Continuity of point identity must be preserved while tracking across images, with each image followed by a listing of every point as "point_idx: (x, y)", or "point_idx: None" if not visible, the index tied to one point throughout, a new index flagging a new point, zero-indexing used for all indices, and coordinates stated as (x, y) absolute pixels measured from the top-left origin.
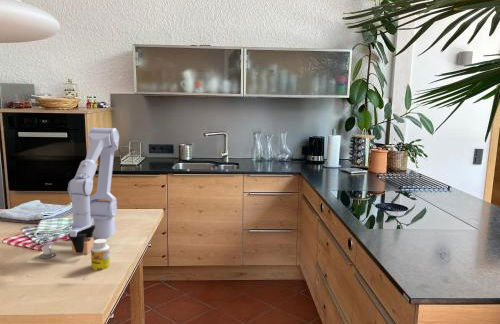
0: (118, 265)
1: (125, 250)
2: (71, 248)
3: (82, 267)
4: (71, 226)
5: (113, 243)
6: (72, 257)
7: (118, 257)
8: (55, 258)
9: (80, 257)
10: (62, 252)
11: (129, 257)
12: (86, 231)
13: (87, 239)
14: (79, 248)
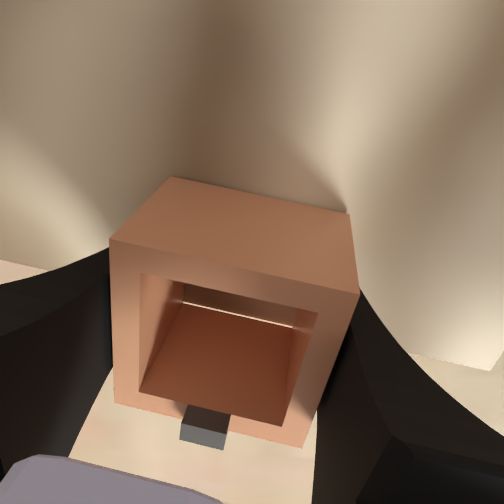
0: (81, 442)
1: (311, 478)
2: (347, 124)
3: (12, 275)
4: (10, 496)
5: (495, 430)
6: (76, 200)
7: (195, 445)
8: (20, 7)
9: None
10: (214, 37)
11: (194, 485)
12: (331, 476)
13: (292, 381)
14: None
